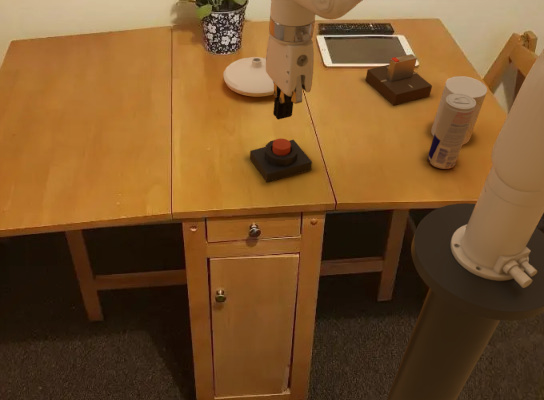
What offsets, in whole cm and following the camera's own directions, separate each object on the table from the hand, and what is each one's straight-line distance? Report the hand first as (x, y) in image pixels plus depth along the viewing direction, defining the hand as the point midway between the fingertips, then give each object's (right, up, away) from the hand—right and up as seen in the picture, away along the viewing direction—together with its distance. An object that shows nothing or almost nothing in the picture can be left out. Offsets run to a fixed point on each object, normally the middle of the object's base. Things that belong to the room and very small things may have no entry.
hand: (282, 115), depth 111 cm
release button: (0, -6, +6) cm, 8 cm away
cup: (+38, -2, +16) cm, 41 cm away
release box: (0, -9, +8) cm, 12 cm away
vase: (-3, +11, +30) cm, 32 cm away
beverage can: (+34, -8, +9) cm, 36 cm away
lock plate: (+31, +11, +29) cm, 44 cm away
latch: (+31, +13, +27) cm, 43 cm away
